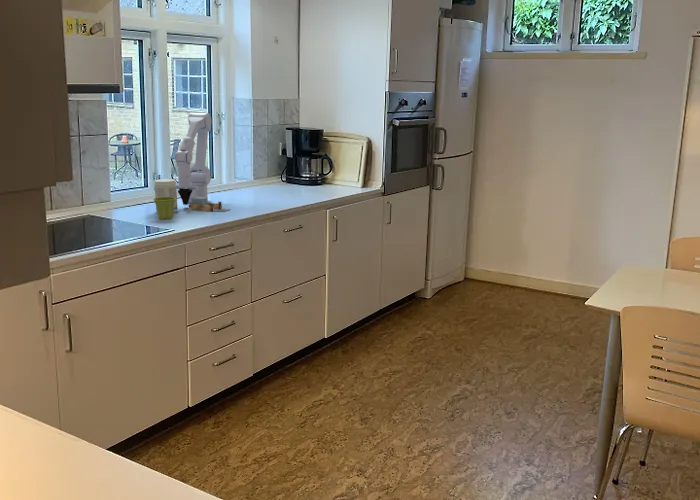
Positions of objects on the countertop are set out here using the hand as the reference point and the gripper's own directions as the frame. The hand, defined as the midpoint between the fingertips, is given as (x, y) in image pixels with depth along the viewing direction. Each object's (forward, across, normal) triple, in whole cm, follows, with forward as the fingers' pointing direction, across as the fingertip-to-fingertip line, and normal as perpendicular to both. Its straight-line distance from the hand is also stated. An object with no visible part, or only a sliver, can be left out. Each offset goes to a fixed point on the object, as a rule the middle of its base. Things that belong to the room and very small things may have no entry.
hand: (185, 204), depth 330 cm
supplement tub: (+2, 0, -14) cm, 14 cm away
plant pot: (+2, +8, -27) cm, 28 cm away
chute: (+1, +11, 0) cm, 11 cm away
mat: (+1, +20, 0) cm, 20 cm away
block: (+1, +8, 0) cm, 8 cm away
